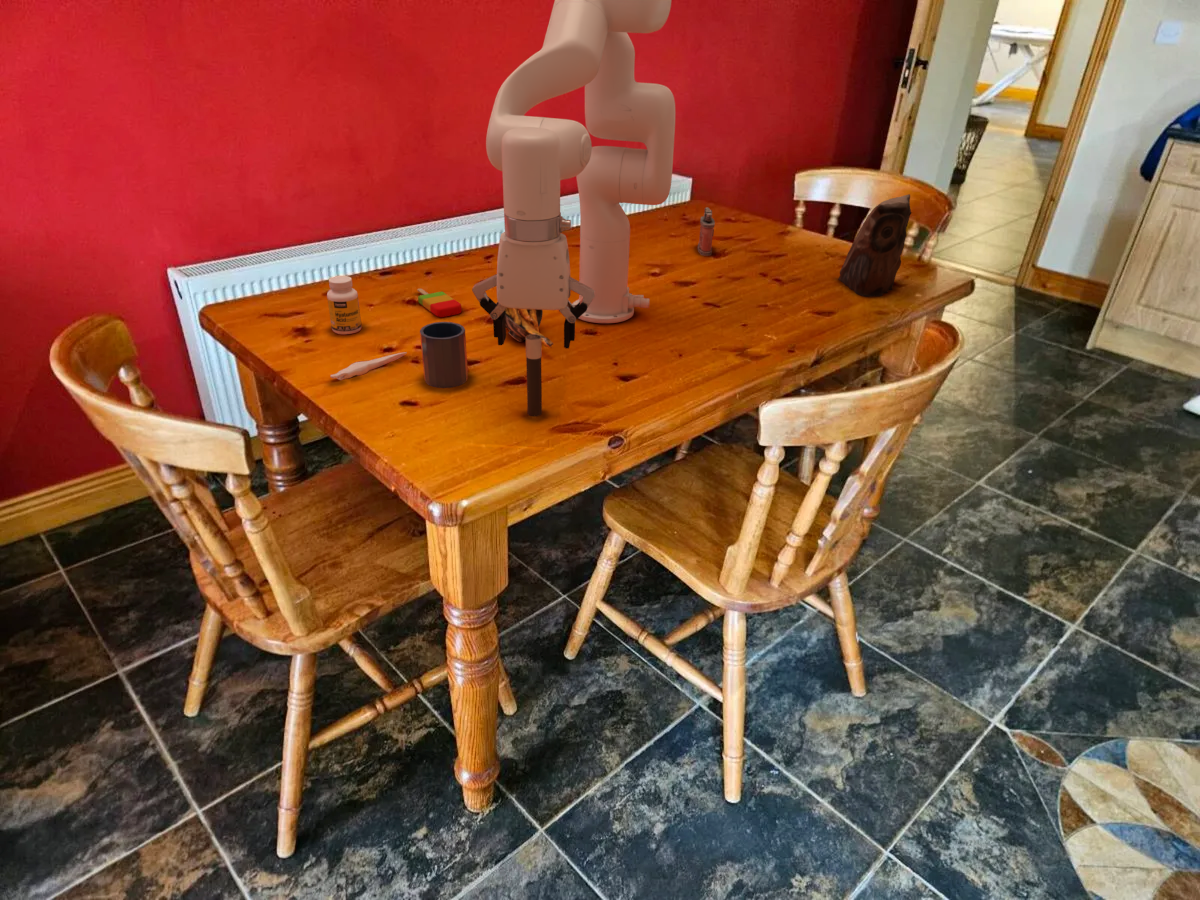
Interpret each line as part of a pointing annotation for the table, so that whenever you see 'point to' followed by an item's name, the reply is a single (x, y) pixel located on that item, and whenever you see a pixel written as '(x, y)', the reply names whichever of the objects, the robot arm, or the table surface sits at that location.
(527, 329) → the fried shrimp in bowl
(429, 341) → the pen cup
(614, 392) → the table surface
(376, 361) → the pale pink tapered rod
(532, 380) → the marker pen
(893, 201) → the owl
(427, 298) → the popsicle
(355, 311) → the supplement bottle
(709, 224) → the lighter
